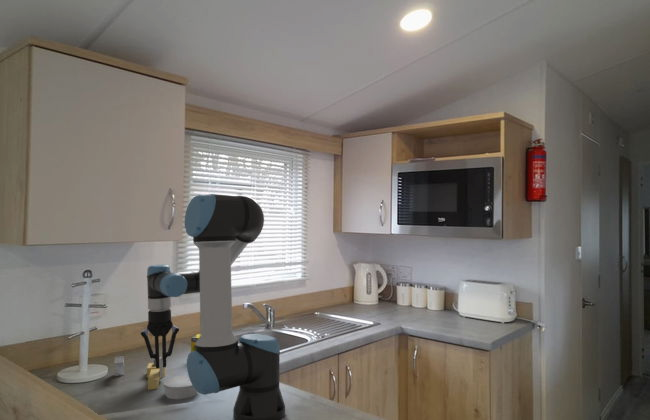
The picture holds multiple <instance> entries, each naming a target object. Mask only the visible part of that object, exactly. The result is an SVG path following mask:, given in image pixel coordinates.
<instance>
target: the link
mask: <svg viewBox="0 0 650 420" xmlns="http://www.w3.org/2000/svg"><path fill="white" fill-rule="evenodd" d="M166 369H167V366H166V367H164V368H163V378H164V377H166V371H167V370H166ZM146 378H147V390H148V391H150V390H158V389H159V388H158V387H159V384H160V379H161V378H160V371H159V368H156V367H154V362H149V363H148V364H147V367H146Z"/></svg>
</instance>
